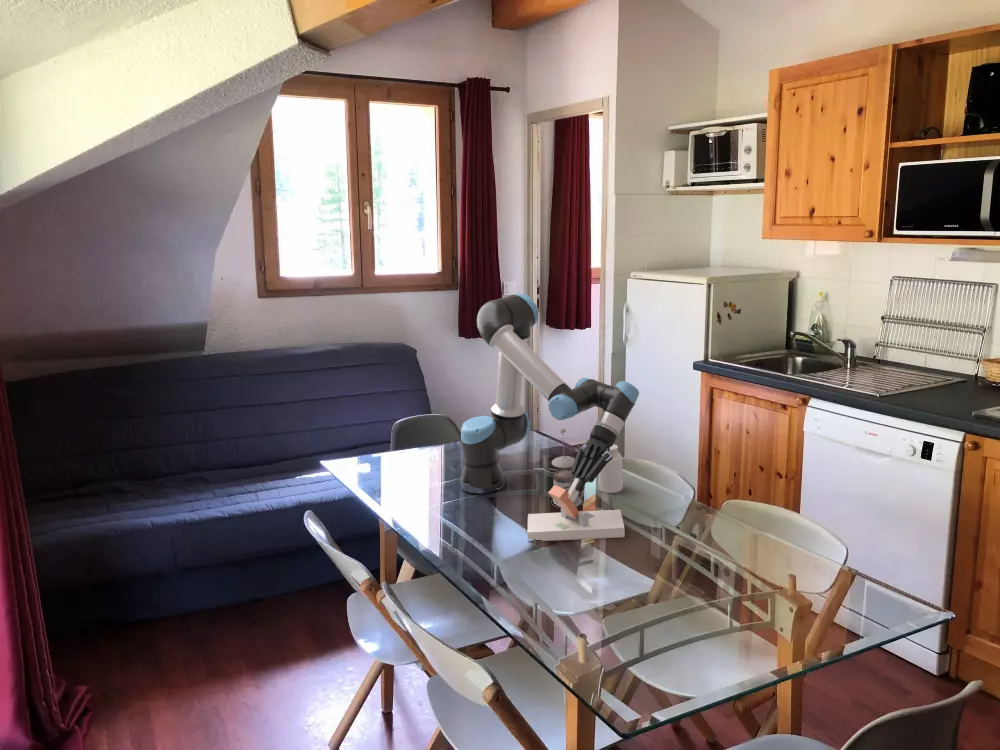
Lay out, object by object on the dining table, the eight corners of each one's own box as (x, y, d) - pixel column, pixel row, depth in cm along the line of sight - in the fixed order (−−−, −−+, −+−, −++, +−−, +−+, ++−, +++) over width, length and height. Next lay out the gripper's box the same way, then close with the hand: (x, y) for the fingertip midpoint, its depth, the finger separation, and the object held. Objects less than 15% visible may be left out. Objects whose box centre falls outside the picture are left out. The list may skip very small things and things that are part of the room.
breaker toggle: (573, 511, 240) (554, 484, 233) (585, 517, 236) (565, 489, 229) (567, 519, 239) (548, 492, 232) (579, 524, 235) (559, 497, 228)
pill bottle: (622, 494, 260) (621, 451, 256) (597, 493, 261) (595, 450, 257) (623, 484, 267) (622, 442, 263) (599, 483, 269) (597, 441, 265)
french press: (550, 496, 263) (546, 424, 256) (586, 493, 262) (582, 421, 255) (551, 509, 253) (547, 434, 246) (588, 507, 252) (585, 432, 246)
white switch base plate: (528, 541, 233) (526, 519, 231) (528, 523, 245) (527, 502, 243) (624, 537, 232) (623, 515, 230) (620, 518, 243) (619, 497, 241)
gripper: (629, 440, 236) (592, 511, 231) (598, 431, 246) (562, 498, 241) (615, 428, 232) (577, 500, 227) (584, 419, 242) (547, 488, 237)
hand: (569, 499), depth 234 cm, fingers closed
